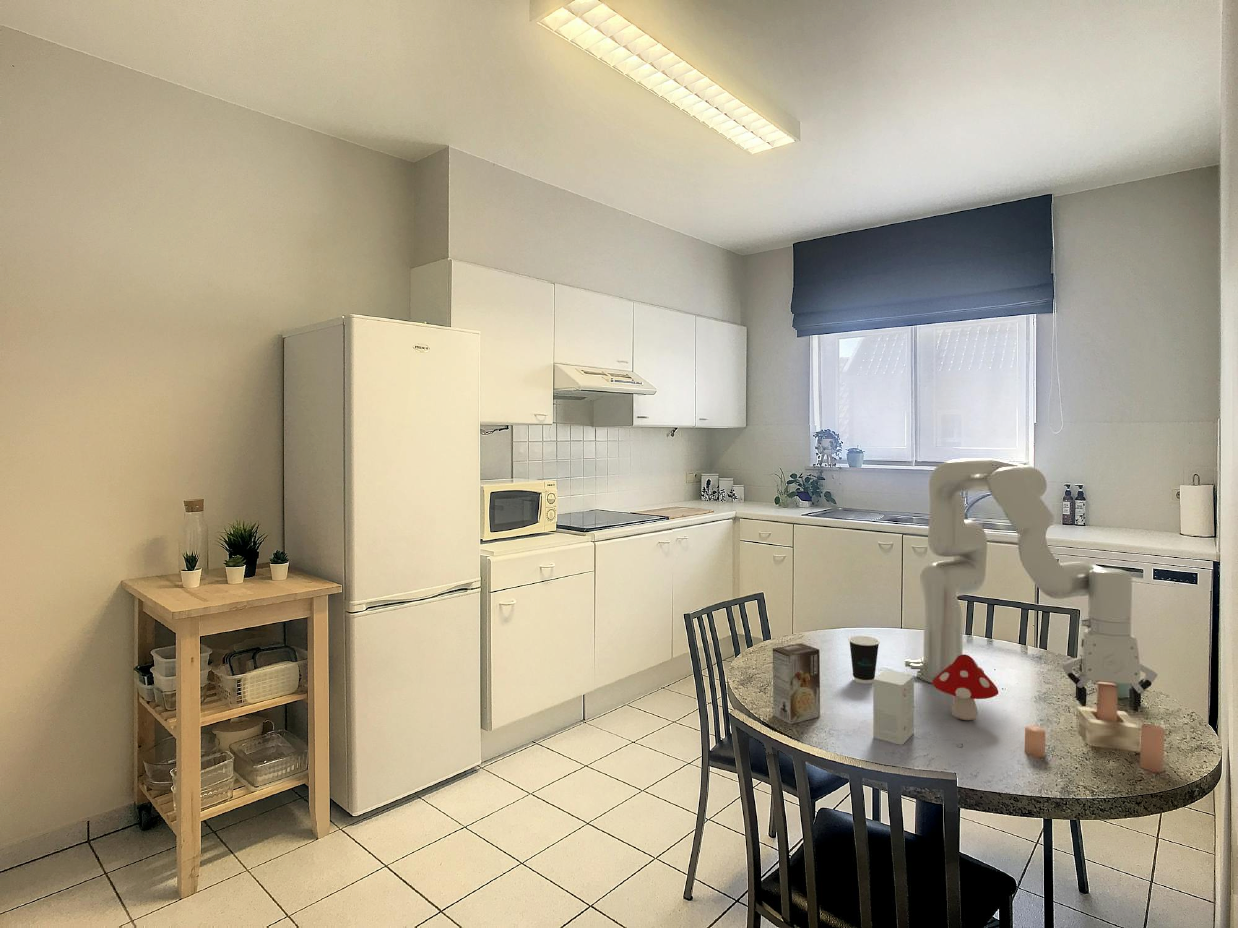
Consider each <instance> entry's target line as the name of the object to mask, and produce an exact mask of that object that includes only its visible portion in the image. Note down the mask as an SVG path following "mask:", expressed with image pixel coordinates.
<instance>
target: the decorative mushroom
mask: <svg viewBox="0 0 1238 928" xmlns="http://www.w3.org/2000/svg"><path fill="white" fill-rule="evenodd" d="M931 684H932V687H934V688H935V689H937V690H938V691H940V692H941V693H944V694H945V695H949V696H952V697H954V698H953V700H952V704H951V709H950V712H951V714H952V716H954V717H955V718H957V719H959V720H961V721H972V720H973V721H974V720H975V719H977V717H978V715H979V714H978V713H979V712H978V708H977V704H976V701H975V700H987V699H992V698H993V697H997V696H998V695H999V688H998V687H997V686H996V685H995V683H994V682H993V681H992V679H990V678H989V676H987V675H986V673H985V671H984V669H983V668H982V667H979V664H978V663H977V662H976V660H975V659H974V658H973V657H971V656H970V655H968V654H962V655H960V656H958V657H955V658H954V659H953V660H952V661H951V664H950V665H949V666H948V667H947V668H946V669H944V670H943V671H942V672H941V673H939V674H938V675H937V676H936V677H935V678H934V679H933V681H932V683H931Z"/></svg>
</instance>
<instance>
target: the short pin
mask: <svg viewBox="0 0 1238 928" xmlns="http://www.w3.org/2000/svg"><path fill="white" fill-rule="evenodd" d="M1024 753H1025V754H1026V755H1028V756H1030V757H1033V758H1041V759H1042V758H1044V757H1046V730H1045V729H1044V728H1042V727H1040V726H1037V725H1035V726H1034V725H1027V726H1024Z"/></svg>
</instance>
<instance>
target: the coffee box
mask: <svg viewBox="0 0 1238 928" xmlns="http://www.w3.org/2000/svg"><path fill="white" fill-rule="evenodd" d="M820 654H821V653H820V649H819V648H817V647H813V646H811V645H808V644H805V643H802V642H799V643H795V644H790V645H785V646H779V647H774V648H772V694H773V695H772V715H773V716H774V717H776V718H778V719H780V720H781V721H784V722H785V723H788V724H789V725H793V724H794V725H795V724H797V723H802V722H805V721H808V720H812V719H816V718H820V717H821V698H820V697H821V689H820V688H821V675H820V674H821V673H820V671H821V670H820V668H821V667H820V664H821V663H820V662H821V661H820V660H821V659H820V657H821V656H820Z"/></svg>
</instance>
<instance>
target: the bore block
mask: <svg viewBox="0 0 1238 928" xmlns="http://www.w3.org/2000/svg"><path fill="white" fill-rule="evenodd" d="M1096 715H1097V707H1096V708H1093V707H1086V706H1076V720H1075V721H1076V726H1075V729H1076V730H1077V731H1078V733H1079V735H1081V737H1082V739H1083V740H1084V741H1085V743H1086V744H1087V745H1088V746H1089V747H1097V748H1104V749H1112V750H1113V749H1114V750H1122V751H1129V752H1138V753H1140V751H1141V727H1140V725H1138V724H1137V723H1136V722H1135V720H1133V719H1132V718H1131V717H1130V715H1129V714H1128V713H1127V712H1126V711H1122V710H1117V722H1113V721H1103V720H1097V719H1096Z"/></svg>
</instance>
